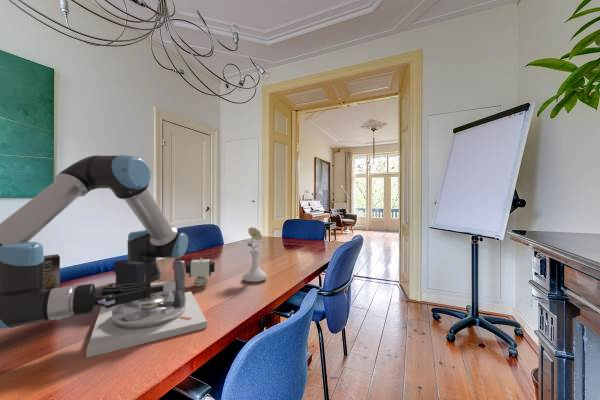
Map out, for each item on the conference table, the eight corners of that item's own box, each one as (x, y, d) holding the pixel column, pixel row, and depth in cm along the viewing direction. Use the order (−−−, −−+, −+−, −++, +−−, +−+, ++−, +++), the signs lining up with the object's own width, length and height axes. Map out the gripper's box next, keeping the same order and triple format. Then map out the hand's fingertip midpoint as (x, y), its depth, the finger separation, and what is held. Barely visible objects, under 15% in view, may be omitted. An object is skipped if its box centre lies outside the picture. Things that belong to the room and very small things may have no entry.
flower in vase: (271, 281, 120) (271, 228, 119) (248, 285, 113) (248, 229, 113) (259, 274, 130) (259, 225, 130) (237, 278, 124) (237, 226, 124)
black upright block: (146, 302, 95) (147, 261, 95) (136, 306, 91) (136, 264, 91) (125, 298, 98) (125, 259, 98) (113, 302, 94) (114, 261, 94)
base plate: (101, 312, 86) (101, 306, 86) (191, 296, 101) (191, 290, 101) (86, 357, 62) (86, 348, 62) (206, 327, 77) (206, 320, 77)
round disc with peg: (113, 336, 67) (114, 274, 67) (110, 310, 83) (110, 259, 83) (193, 315, 80) (194, 262, 80) (177, 295, 95) (177, 251, 95)
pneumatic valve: (213, 286, 112) (214, 259, 112) (185, 287, 110) (185, 260, 110) (215, 282, 118) (215, 256, 118) (188, 283, 115) (188, 257, 115)
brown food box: (25, 305, 91) (25, 260, 91) (24, 300, 95) (24, 257, 95) (60, 298, 97) (60, 256, 97) (58, 293, 102) (58, 253, 102)
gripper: (79, 306, 72) (172, 290, 84) (68, 326, 61) (177, 305, 73) (79, 279, 72) (173, 268, 84) (68, 294, 61) (177, 279, 73)
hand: (175, 285), depth 79 cm, fingers closed
